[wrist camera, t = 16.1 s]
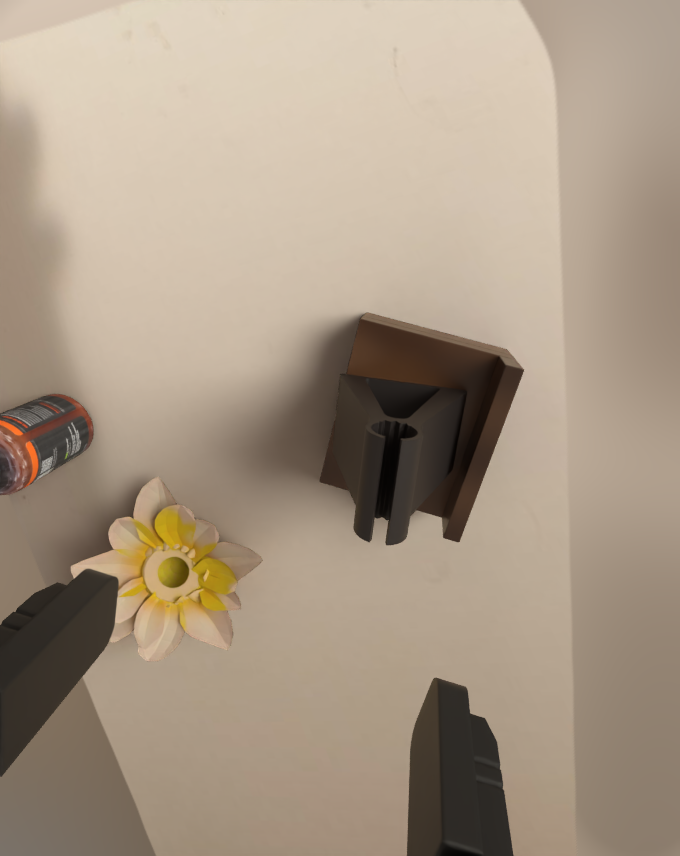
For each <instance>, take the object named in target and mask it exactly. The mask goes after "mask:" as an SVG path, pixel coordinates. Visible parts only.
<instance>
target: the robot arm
mask: <svg viewBox="0 0 680 856" xmlns="http://www.w3.org/2000/svg"><path fill="white" fill-rule="evenodd" d="M118 586H119V581H118V578H117V577H115V576H112V575H108V574H105V573H102V572H99V571H96V570H92V569H89V568H88V569H85V570H83V571H82V572H81V573H80V574H79V575H78V576H77V577H75V578H74V579H73V580H72V581H71V582H70V583H69V584H68V585H64V584H61V583H56V584H53V585H51V586H49V587H47V588H45V589H43V590H41V591H39V592H36V593H34V594H33V595H32V596H31V597H30V598H29V599H28V600H26V601H25V602H24V603H23V604H22V605H21V606H19V607H18V608H17V610H16V612H13V613H12V614H10V615H9V616H8V617H7V618H6V619H5V620H3V622H2V624H1V625H0V776H2V775H3V774H4V773H5V772H6V770H7V769H8V768H9V767H10V765H11V764H12V763H13V762H14V761H15V759H16V758H17V757H18V756H19V754H20V753H21V752H22V751H23V749H24V748H25V747H26V746H27V744H28V743H29V742H30V741H31V739H32V738H33V737H34V736H35V735H36V733H37V732H38V731H39V730H40V728H41V727H42V726H43V725H44V723H45V722H46V721H47V720H48V718H49V717H50V716H51V715H52V713H53V712H54V711H55V710H56V708H57V707H58V706H59V705H60V704H61V702H62V701H63V700H64V699H65V697H66V696H67V695H68V694H69V692H70V691H71V690H72V689H73V687H74V686H75V685H76V684H77V682H78V681H79V680H80V679H81V678H82V676H83V675H84V674H85V673H86V671H87V670H88V669H89V668H90V666H91V665H92V664H93V663H94V661H95V660H96V659H97V658H98V657H99V655H100V654H101V653H102V652H103V650H104V649H105V647H106V646H107V644H108V642H109V640H110V638H111V635H112V633H113V630H114V626H115V617H116V606H117V596H118ZM407 856H513V850H512V843H511V836H510V829H509V822H508V815H507V809H506V802H505V795H504V790H503V781H502V774H501V770H500V760H499V753H498V746H497V741H496V739H495V737H494V735H493V733H492V731H491V729H490V727H489V725H488V723H487V721H486V719H485V718H482V717H479V716H476V715H473V714H470V709H469V698H468V691H467V688H466V687H464V686H461V685H458V684H455V683H451V682H448V681H445V680H442V679H439V678H434V679H433V681H432V683H431V685H430V688H429V690H428V693H427V695H426V698H425V700H424V703H423V705H422V708H421V710H420V713H419V715H418V718H417V720H416V723H415V727H414V730H413V735H412V741H411V749H410V777H409V809H408V841H407Z"/></svg>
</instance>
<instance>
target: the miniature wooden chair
mask: <svg viewBox="0 0 680 856" xmlns="http://www.w3.org/2000/svg"><path fill="white" fill-rule="evenodd" d="M523 372H524V369H523V368H522V367H521V365H520V364H519V363H518V362H517V361H516V359H515V358H514V357H513V356H512V355H511V354H510V352H509V351H508V350H507V349H503V348H500V347H496V346H492V345H488V344H484V343H481V342H477V341H473V340H469V339H466V338H462V337H458V336H454V335H450V334H447V333H443V332H439V331H435V330H432V329H428V328H424V327H420V326H416V325H413V324H409V323H405V322H401V321H398V320H394V319H390V318H386V317H382V316H379V315H375V314H371V313H366V314H365V315H364V316H362V318H361V319H360V321H359V325H358V329H357V333H356V337H355V341H354V345H353V349H352V353H351V357H350V361H349V365H348V369H347V373H346V374H349V375H356V376H364V377H372V378H379V379H387V380H394V381H400V382H409V383H417V384H425V385H432V386H440V387H447V388H455V389H462V390H466V391H467V396H466V401H465V407H464V412H463V418H462V423H461V428H460V434H459V439H458V444H457V450H456V455H455V460H454V466H453V470H452V471H451V472H450V474H449V475H448V476H447V477H446V478H445V479H444V480H443V481H442V482H441V483H440V484H439V485H438V487H437V488H436V489H435V490H434V491H433V492H432V493H431V494H430V495H429V496H428V497H427V499H426V500H425V501H424V502H423V503H422V504H421V505H420V506H419V507H418V508H417V509H416V510H418V511H421V512H425V513H428V514H432V515H435V516H439V517H442V526H443V538H445V539H449V540H452V541H455V542H460V539H461V536H462V534H463V531H464V528H465V526H466V523H467V521H468V518H469V515H470V513H471V510H472V507H473V505H474V502H475V499H476V497H477V494H478V491H479V489H480V486H481V483H482V481H483V478H484V475H485V473H486V470H487V467H488V465H489V462H490V460H491V457H492V454H493V452H494V449H495V446H496V444H497V441H498V438H499V436H500V433H501V430H502V428H503V425H504V422H505V420H506V417H507V414H508V412H509V409H510V406H511V404H512V401H513V399H514V396H515V393H516V391H517V388H518V385H519V383H520V380H521V377H522V375H523ZM335 420H336V417H335ZM334 430H335V421H334V425H333V429H332V433H331V437H330V441H329V445H328V449H327V453H326V457H325V461H324V465H323V469H322V473H321V477H320V482H321V483H325V484H328V485H332V486H335V487H339V488H342V489H345V490H349V489H348V487H347V484H346V482H345V480H344V477H343V475H342V473H341V471H340V468H339V466H338V464H337V461H336V459H335V457H334V455H333V452H332V450H333V440H334Z"/></svg>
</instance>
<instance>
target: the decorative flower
mask: <svg viewBox="0 0 680 856" xmlns="http://www.w3.org/2000/svg"><path fill="white" fill-rule="evenodd" d="M133 516H134V519H133V518H131V517H129V516H128V517H124V518H119V519H116V520H115V522H114V523H113V524H112V525H111V526H110V529H109V533H108V534H109V541H110V543H111V546H112V548H113V549H115V550H111V551H109V552H106V553H103V554H100V555H97V556H94V557H91V558H89V559H86V560H84V561H81V562H79V563H76V564H74V565H72V566H71V573H72V575H73V577H74V578H75V577H77V576H78V575H79V574H80V573H81V572H82V571H83V570H85V569H88V568H89V569H92V570H96V571H99V572H102V573H105V574H108V575H112V576H115V577H117V578H118V581H119V586H118V596H117V606H116V617H115V626H114V630H113V633H112V635H111V638H110V640H109V641H111V642H113V643H114V642H116V641H118V640H120V639H122V638H124V637H126V636H128V635H129V634H130V633H131V632H132V631H133V630H134V634H135V639H136V641H137V643H138V645H139V651H138V654H139V655H140V656H141V657H143V658H144V659H145V660H146V661H159V660H161V659H163V658H166V657H167V656H168V655H169V654H170V653H172V652H173V651H174V650H175V648H176V647H177V646H178V645H179V643H180V641H181V639H182V637H183V634H184V632H187V633H188V634H189V635H190V636H191V637H193V638H195V639H198V640H201V641H203V642H206V643H208V644H211V645H214V646H216V647H219V648H222V649H226V650H228V649H229V648H230V646H231V643H232V638H233V629H232V622H231V619H230V617H229V614H228V611H227V610H239V609H241V604H240V600H239V598H238V596H237V595H236V593H235V592H234V591H235V589H236V586H237V583H238V580H240V579H241V578H242V577H244V576H245V575H246V574H248V573H249V572H250V571H252V570H253V569H254V568H255V567H257V566H258V565H259V564H260V563H261V562H262V561H263V560H262V558H261V556H259V555H258V554H256V553H255V552H253V551H252V550H250V549H248V548H246V547H243V546H240V545H237V544H233V543H229V542H218V539H219V536H220V535H219V533H218V531H217V529H216V527H215V525H213V524H211V523H209V522H208V521H205V520H200V519H197V520H195V518H194V515H193V512H192V510H190V509H188V508H186V507H185V506H183V505H177V503H176V502H175V500H174V498H173V497H172V495H171V493H170V492H169V490H168V489H167V487H166V486H165V484H164V483H163V481H162V480H161V479H160V478H159V477H156V478H153V479H152V480H151V481H150V482H148V483H147V484H146V485H145V486H144V487H142V489H141V491H140V493H139V495H138V497H137V499H136V503H135V508H134V512H133ZM217 542H218V543H217Z"/></svg>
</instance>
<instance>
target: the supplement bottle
mask: <svg viewBox="0 0 680 856" xmlns="http://www.w3.org/2000/svg"><path fill="white" fill-rule="evenodd" d="M92 439H93V424H92V421H91V418H90V416H89V415H88V413H87V411H86V410H85V409H84V408H83V406H82V405H81V404H80V403H78V402H77V401H75V400H74V399H72V398H70V397H68V396H65V395H60V394H52V395H47V396H44V397H41V398H38V399H36V400H33V401H31V402H28V403H26V404H24V405H21V406H18V407H16V408H14V409H11V410H8V411H6V412H3V413H1V414H0V495H9V494H12V493H15V492H17V491H19V490H21V489H23V488H25V487H26V486H28V485H30V484H32V483H33V482H35V481H37V480H38V479H40V478H41V477H43V476H45V475H46V474H48V473H50V472H52V471H53V470H55V469H56V468H58V467H60V466H61V465H63V464H65V463H66V462H68V461H70V460H71V459H73V458H75V457H76V456H78V455H80V454H81V453H82V452H84V451H85V450H86V449H87V448H88V447H89V446H90V444H91V442H92Z"/></svg>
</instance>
